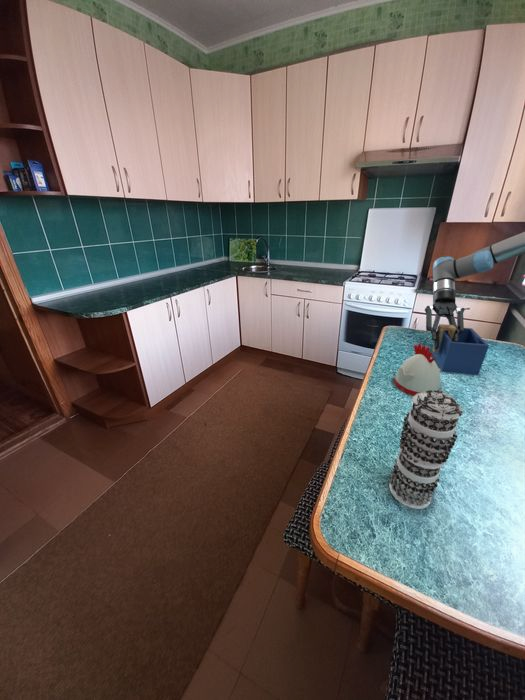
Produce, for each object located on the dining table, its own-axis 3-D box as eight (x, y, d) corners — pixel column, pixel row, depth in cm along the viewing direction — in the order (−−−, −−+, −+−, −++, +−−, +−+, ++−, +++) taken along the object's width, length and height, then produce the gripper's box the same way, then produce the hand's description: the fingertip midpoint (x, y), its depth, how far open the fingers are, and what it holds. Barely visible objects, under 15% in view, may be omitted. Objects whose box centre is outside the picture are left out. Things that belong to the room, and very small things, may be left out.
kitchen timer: (417, 372, 108) (426, 335, 101) (448, 392, 96) (461, 352, 89) (385, 378, 104) (393, 341, 97) (414, 400, 92) (425, 359, 86)
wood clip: (445, 351, 114) (453, 325, 109) (447, 354, 111) (456, 328, 106) (432, 349, 115) (439, 324, 110) (434, 353, 112) (441, 327, 107)
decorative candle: (380, 493, 63) (403, 400, 52) (395, 467, 69) (419, 379, 58) (425, 519, 58) (462, 422, 47) (438, 489, 64) (473, 396, 53)
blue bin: (430, 351, 122) (438, 325, 117) (463, 354, 119) (471, 328, 114) (441, 371, 108) (450, 342, 103) (478, 374, 105) (489, 345, 100)
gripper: (464, 299, 117) (467, 354, 110) (416, 297, 121) (415, 349, 114) (474, 290, 110) (477, 348, 103) (422, 287, 114) (422, 343, 107)
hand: (444, 348), depth 108 cm, fingers closed on wood clip, 5 cm apart
